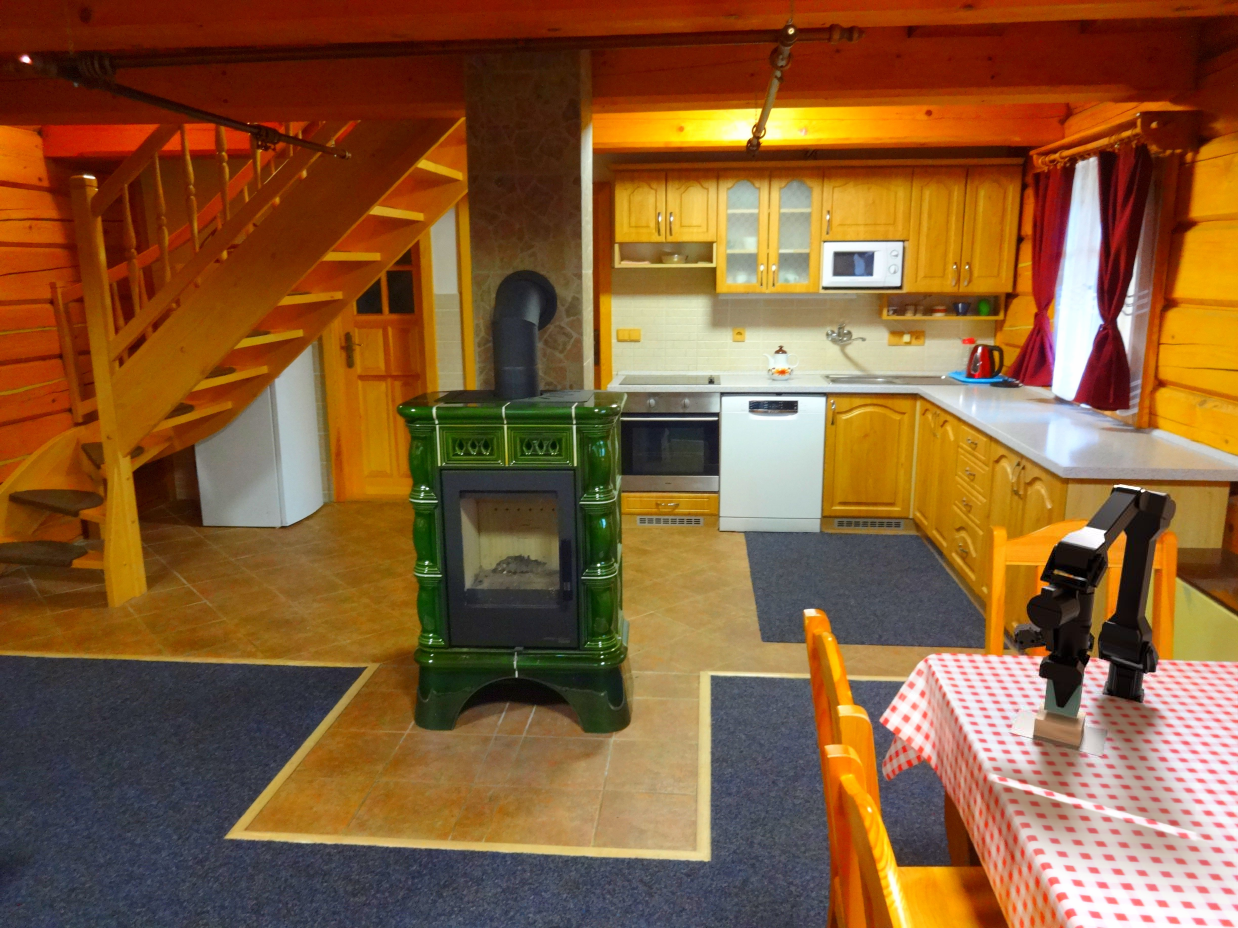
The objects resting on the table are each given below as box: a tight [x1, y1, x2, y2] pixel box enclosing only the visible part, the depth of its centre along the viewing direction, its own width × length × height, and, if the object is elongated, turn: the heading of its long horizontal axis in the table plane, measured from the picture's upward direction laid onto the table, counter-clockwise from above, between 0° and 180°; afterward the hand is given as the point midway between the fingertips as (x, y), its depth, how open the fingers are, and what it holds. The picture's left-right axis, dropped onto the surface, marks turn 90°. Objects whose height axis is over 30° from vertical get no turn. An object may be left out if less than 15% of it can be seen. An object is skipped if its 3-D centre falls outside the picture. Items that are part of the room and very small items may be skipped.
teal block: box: [1043, 677, 1085, 718], centre depth 148 cm, size 5×5×6 cm
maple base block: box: [1033, 701, 1087, 746], centre depth 150 cm, size 7×7×3 cm
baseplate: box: [1009, 708, 1109, 758], centre depth 150 cm, size 10×14×1 cm
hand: (1062, 700), depth 149 cm, fingers closed on teal block, 5 cm apart
